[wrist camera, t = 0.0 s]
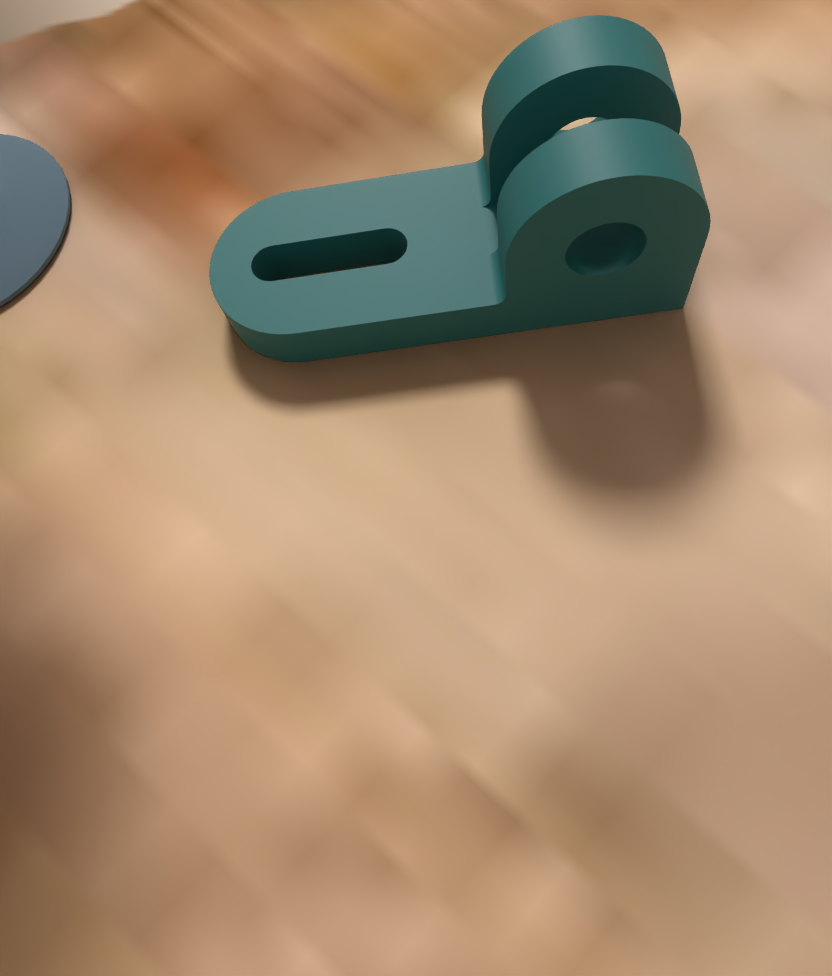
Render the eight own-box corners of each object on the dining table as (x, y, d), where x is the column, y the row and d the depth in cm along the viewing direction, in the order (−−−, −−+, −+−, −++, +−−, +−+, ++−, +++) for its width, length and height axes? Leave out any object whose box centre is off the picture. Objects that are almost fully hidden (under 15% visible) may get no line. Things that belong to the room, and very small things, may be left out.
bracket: (647, 175, 33) (684, -1, 26) (681, 311, 30) (733, 159, 23) (229, 239, 34) (151, 90, 27) (228, 375, 32) (142, 250, 25)
